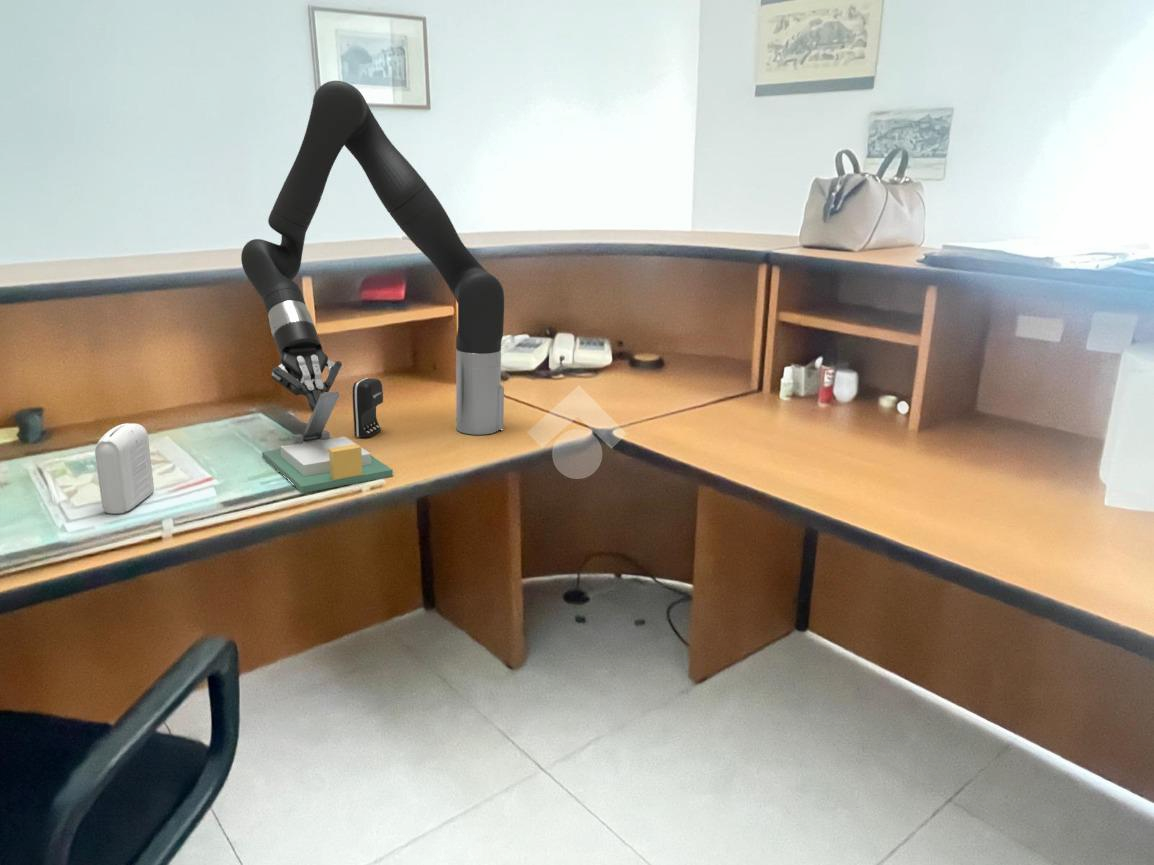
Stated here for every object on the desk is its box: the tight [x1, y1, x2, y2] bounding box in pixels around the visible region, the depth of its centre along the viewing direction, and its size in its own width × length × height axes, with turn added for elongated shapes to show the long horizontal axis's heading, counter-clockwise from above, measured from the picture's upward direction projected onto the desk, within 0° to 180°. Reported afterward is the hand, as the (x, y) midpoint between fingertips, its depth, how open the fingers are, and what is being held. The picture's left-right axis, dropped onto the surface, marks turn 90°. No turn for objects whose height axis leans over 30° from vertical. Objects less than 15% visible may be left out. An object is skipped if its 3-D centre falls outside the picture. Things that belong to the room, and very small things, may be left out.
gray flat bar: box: [301, 391, 340, 443], centre depth 143 cm, size 16×3×1 cm
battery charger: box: [352, 377, 384, 438], centre depth 162 cm, size 7×4×11 cm, turn 167°
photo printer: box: [94, 423, 155, 515], centre depth 123 cm, size 10×4×12 cm, turn 3°
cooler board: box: [261, 429, 394, 494], centre depth 143 cm, size 21×16×6 cm
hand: (321, 411), depth 142 cm, fingers closed
